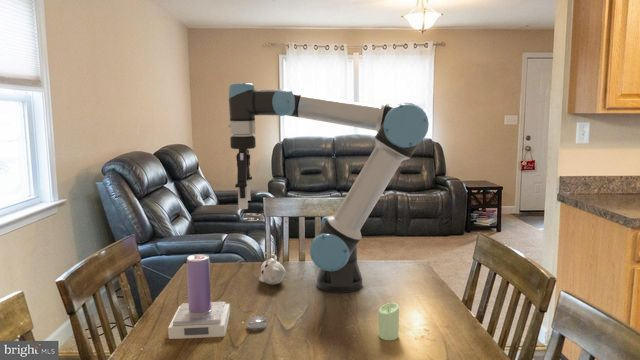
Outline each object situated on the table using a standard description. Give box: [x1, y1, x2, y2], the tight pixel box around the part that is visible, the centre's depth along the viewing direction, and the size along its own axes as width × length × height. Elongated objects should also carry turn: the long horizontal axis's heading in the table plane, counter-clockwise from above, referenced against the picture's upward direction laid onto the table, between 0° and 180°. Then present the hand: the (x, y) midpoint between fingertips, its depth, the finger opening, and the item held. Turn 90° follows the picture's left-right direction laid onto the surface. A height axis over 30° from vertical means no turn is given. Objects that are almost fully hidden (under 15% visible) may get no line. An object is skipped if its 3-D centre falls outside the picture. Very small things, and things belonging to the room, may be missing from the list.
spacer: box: [246, 315, 267, 332], centre depth 129 cm, size 5×5×2 cm
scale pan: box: [173, 301, 227, 325], centre depth 129 cm, size 12×12×1 cm
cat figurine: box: [259, 253, 287, 285], centre depth 162 cm, size 10×8×15 cm
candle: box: [378, 302, 400, 341], centre depth 122 cm, size 5×5×8 cm
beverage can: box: [186, 253, 212, 315], centre depth 128 cm, size 6×6×15 cm
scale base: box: [167, 303, 231, 340], centre depth 129 cm, size 14×14×3 cm
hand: (244, 204), depth 148 cm, fingers open, 13 cm apart
